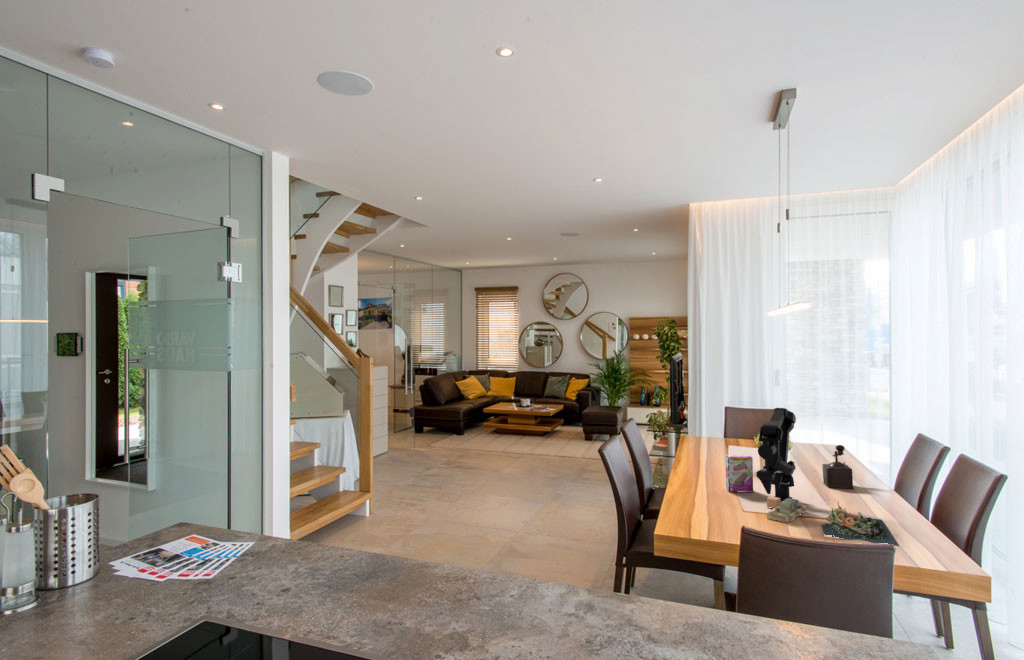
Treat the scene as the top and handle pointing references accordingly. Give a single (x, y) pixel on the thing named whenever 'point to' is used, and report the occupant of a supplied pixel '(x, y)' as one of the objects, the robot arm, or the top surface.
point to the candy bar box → (739, 473)
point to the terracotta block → (773, 502)
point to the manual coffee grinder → (837, 472)
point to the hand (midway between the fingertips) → (773, 491)
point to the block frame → (786, 510)
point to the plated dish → (857, 527)
